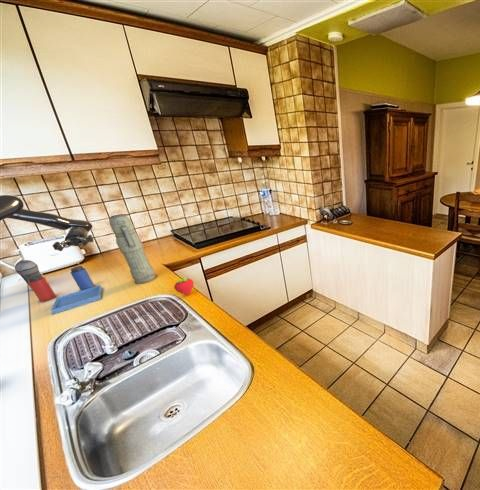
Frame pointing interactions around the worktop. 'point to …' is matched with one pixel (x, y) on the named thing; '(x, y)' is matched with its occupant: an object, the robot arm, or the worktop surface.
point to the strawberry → (184, 286)
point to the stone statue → (131, 249)
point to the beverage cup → (26, 269)
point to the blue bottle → (81, 278)
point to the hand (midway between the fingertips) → (71, 246)
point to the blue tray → (77, 299)
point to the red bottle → (41, 288)
